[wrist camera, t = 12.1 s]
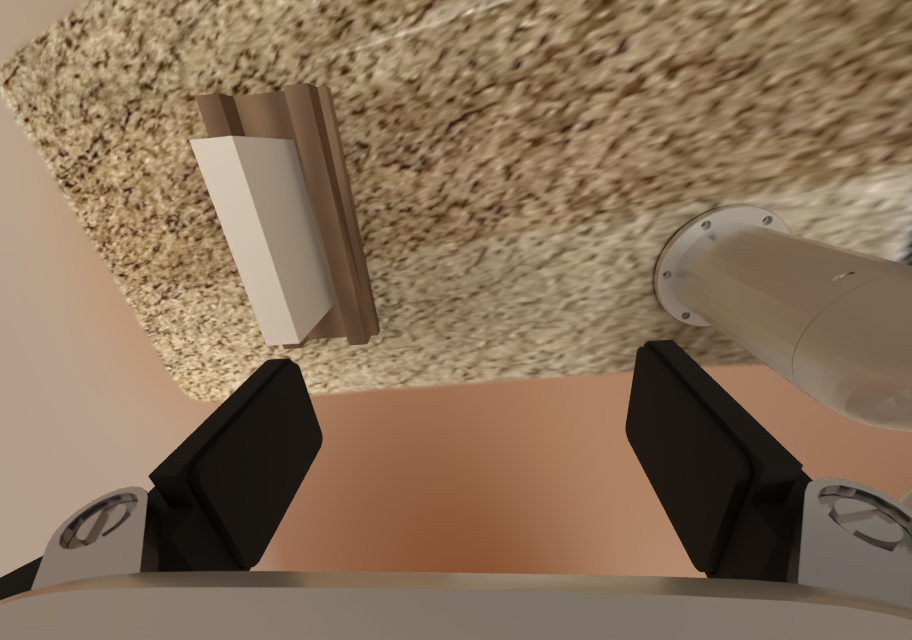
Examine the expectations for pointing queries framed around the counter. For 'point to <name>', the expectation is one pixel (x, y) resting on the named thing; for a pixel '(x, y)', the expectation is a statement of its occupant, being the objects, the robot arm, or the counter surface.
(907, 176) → the counter surface
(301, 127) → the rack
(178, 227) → the counter surface
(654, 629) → the robot arm
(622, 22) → the counter surface
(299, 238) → the white rectangular slab
